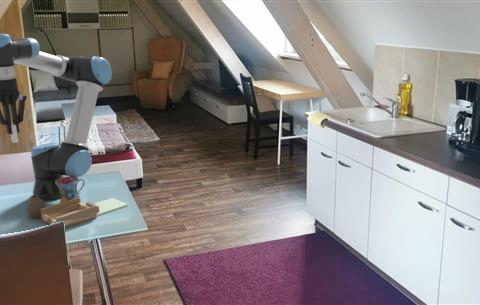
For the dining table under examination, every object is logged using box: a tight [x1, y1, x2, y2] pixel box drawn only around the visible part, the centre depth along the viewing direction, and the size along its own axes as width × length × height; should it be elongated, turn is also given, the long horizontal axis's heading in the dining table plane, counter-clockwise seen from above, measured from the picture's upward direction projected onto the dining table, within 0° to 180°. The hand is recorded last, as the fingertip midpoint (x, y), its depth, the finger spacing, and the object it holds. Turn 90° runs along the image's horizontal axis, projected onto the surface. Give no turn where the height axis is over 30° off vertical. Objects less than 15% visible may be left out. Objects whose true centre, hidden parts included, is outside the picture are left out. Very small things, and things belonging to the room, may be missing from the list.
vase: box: [26, 195, 47, 220], centre depth 190 cm, size 7×7×9 cm
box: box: [40, 197, 98, 229], centre depth 188 cm, size 14×16×5 cm
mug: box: [55, 176, 85, 203], centre depth 203 cm, size 12×9×11 cm
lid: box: [85, 197, 128, 217], centre depth 199 cm, size 12×15×4 cm
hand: (15, 141), depth 178 cm, fingers closed
